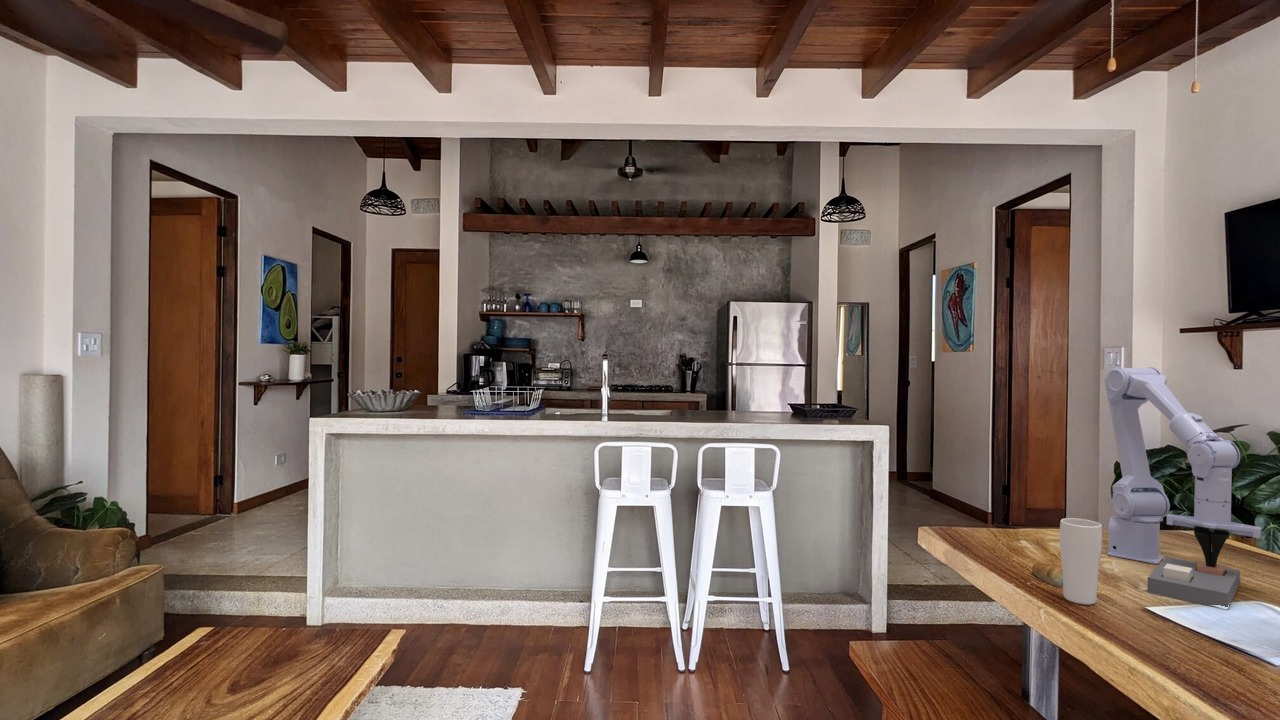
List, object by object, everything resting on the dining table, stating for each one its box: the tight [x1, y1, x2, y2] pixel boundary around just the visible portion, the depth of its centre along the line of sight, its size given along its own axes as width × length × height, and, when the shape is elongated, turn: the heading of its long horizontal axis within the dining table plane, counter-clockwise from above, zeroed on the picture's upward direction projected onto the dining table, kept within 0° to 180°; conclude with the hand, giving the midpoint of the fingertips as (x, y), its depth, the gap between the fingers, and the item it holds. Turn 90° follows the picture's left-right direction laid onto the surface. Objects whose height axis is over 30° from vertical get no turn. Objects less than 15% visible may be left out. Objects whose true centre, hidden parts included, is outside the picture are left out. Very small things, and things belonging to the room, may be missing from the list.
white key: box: [1163, 564, 1192, 582], centre depth 134 cm, size 4×4×3 cm
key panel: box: [1146, 556, 1241, 607], centre depth 136 cm, size 12×20×3 cm, turn 134°
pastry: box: [1031, 562, 1063, 588], centre depth 141 cm, size 9×7×4 cm
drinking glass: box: [1059, 517, 1103, 605], centre depth 129 cm, size 7×7×15 cm
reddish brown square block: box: [1197, 561, 1226, 576], centre depth 138 cm, size 4×4×3 cm
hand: (1211, 565), depth 138 cm, fingers closed, pressing on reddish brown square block
